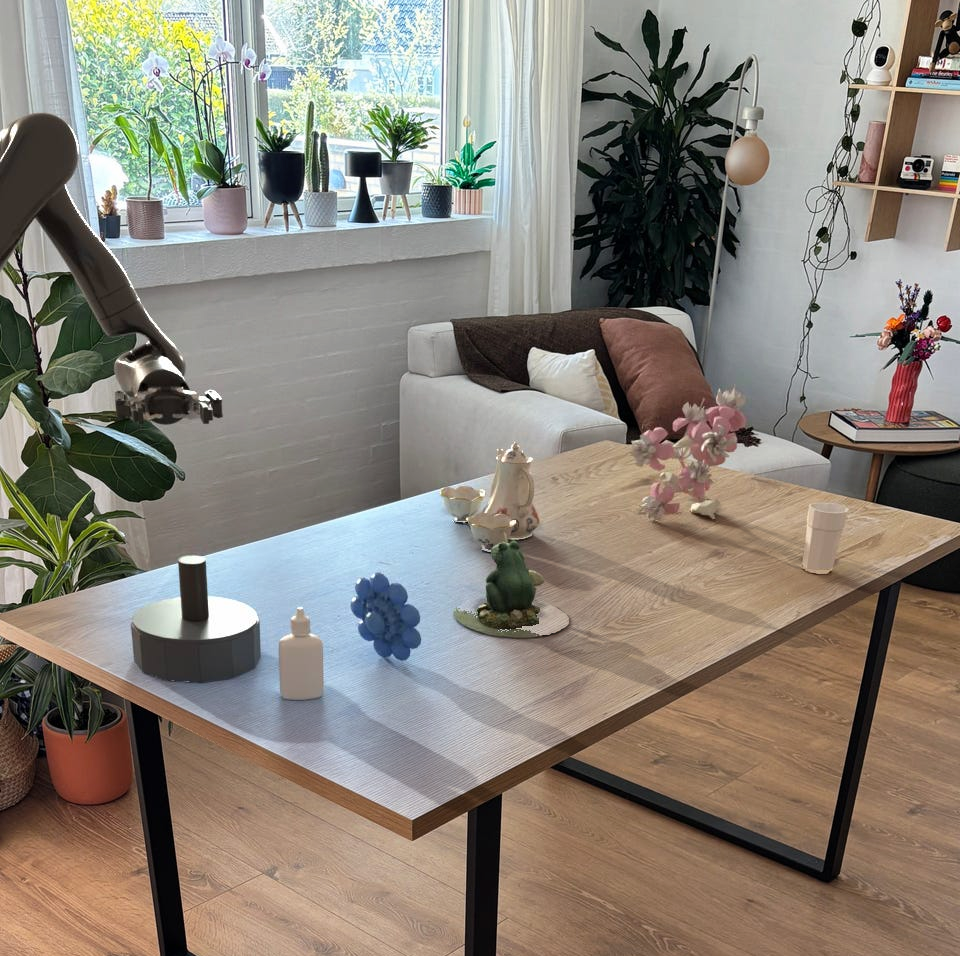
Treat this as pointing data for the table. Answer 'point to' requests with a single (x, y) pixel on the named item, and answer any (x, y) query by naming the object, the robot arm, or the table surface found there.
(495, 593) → the frog figurine
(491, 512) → the chinaware
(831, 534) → the cup
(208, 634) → the cover
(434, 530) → the table surface
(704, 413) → the flower
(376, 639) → the blue knobbed wheel
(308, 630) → the eye dropper bottle
